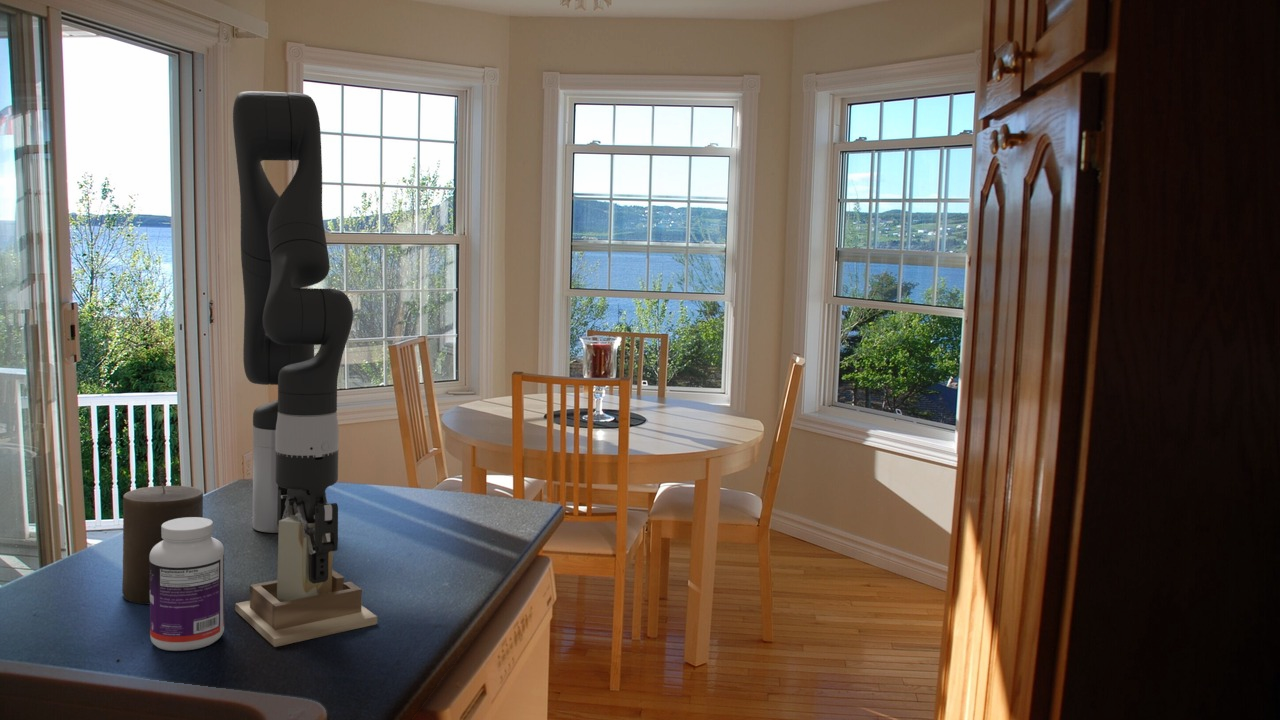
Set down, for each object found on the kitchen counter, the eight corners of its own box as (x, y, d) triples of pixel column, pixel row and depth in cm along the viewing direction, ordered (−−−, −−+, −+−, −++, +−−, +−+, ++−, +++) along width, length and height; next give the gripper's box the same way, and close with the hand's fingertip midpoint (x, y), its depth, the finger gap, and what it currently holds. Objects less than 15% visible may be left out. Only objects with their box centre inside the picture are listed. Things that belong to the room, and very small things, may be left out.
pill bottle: (166, 627, 119) (165, 513, 118) (233, 628, 120) (233, 514, 119) (138, 654, 111) (136, 532, 110) (210, 655, 112) (210, 533, 111)
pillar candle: (162, 609, 125) (162, 495, 123) (105, 596, 128) (105, 485, 127) (218, 587, 134) (220, 481, 132) (164, 576, 137) (165, 472, 136)
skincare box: (305, 620, 121) (306, 525, 119) (274, 615, 122) (276, 520, 120) (333, 602, 127) (335, 512, 126) (304, 597, 128) (306, 507, 127)
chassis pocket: (235, 610, 126) (235, 580, 125) (332, 591, 134) (332, 563, 134) (274, 647, 115) (274, 614, 115) (377, 624, 123) (377, 593, 123)
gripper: (257, 439, 125) (256, 562, 127) (299, 460, 114) (298, 595, 116) (314, 434, 130) (313, 553, 132) (359, 454, 119) (357, 583, 121)
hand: (306, 572), depth 124 cm, fingers open, 7 cm apart
